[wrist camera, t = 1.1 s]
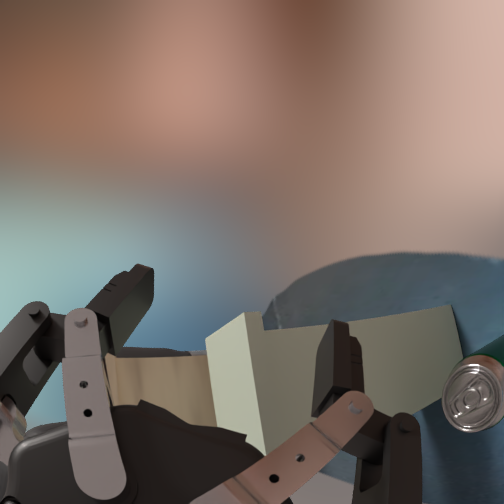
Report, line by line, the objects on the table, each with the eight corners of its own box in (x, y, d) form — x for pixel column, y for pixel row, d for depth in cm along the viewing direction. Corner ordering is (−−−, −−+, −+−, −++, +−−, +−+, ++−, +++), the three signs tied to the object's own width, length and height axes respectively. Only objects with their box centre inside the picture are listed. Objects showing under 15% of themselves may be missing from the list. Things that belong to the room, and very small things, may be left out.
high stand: (356, 406, 36) (117, 450, 24) (343, 337, 40) (106, 356, 28) (400, 402, 30) (116, 467, 17) (384, 322, 34) (102, 344, 21)
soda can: (554, 357, 14) (520, 412, 9) (513, 391, 17) (455, 450, 12) (527, 313, 18) (481, 339, 13) (489, 349, 21) (424, 386, 16)
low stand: (413, 400, 28) (223, 463, 19) (396, 317, 32) (205, 338, 23) (472, 389, 22) (271, 489, 12) (451, 293, 26) (243, 312, 16)
